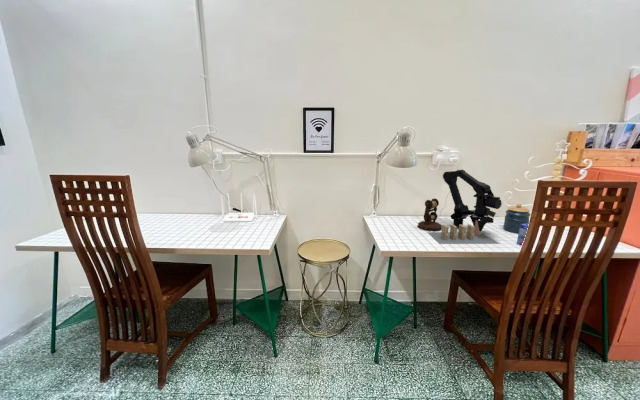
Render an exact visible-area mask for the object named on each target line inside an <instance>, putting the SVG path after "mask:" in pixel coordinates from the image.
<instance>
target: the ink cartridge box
mask: <svg viewBox="0 0 640 400" xmlns="http://www.w3.org/2000/svg"><path fill="white" fill-rule="evenodd" d="M528 224H529V223H525V224H521V225H520V229H519V233H517V234H518V235H517V240H516V245H518V246H521V245H522V243H523V241H524V238H525V235H526V232H527V228H528Z"/></svg>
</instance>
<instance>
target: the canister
mask: <svg viewBox="0 0 640 400" xmlns="http://www.w3.org/2000/svg"><path fill="white" fill-rule="evenodd" d="M505 213H506V214H505V215H504V222H503V225H502V227H503V230H505V231H507V232H509V233H514V234H519V229H520V225H521V224H525V223H529V222H530V220H529V219H530V216H531V215H532V214H531V213H530V209H528V207H525V206H522V204H520V203H517V204H516V205H511V206H509V207H507V210H505Z"/></svg>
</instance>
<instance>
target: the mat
mask: <svg viewBox="0 0 640 400" xmlns="http://www.w3.org/2000/svg"><path fill="white" fill-rule="evenodd" d="M441 232H442V231H441ZM441 232H440V231H436V232H434V231H431V232H430V231H429V232H428V231H427V232H426V233H427V234H428V235H429V236H431V238H432V239H434V240H435V241H436V243H438V244H439V245H501V243H500V242H499V241H497V240H496V239H493V238H492V237H490V236H489V235H487V234H485V233H483V232H482V231H481V235H477V234H476V233H474V238H473V240H470V239H468V238H467V237H466V233H467V231H466V233H465V240H461V239H460V238H458V231H457V236H456V240H452V239H451V238H450V237H449V236H450V231H448V239H447V240H444V239H443V238H441Z"/></svg>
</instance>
